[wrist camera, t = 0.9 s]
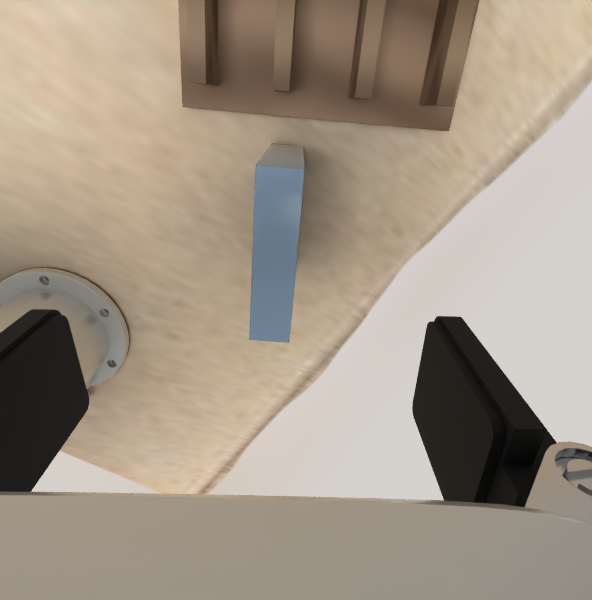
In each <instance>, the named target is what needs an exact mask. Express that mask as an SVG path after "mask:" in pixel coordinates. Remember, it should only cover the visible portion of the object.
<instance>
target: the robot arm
mask: <svg viewBox="0 0 592 600" xmlns="http://www.w3.org/2000/svg"><path fill="white" fill-rule="evenodd" d="M128 347H129V335H128V329H127V326H126V323H125V320H124V318H123V316H122V314H121V312H120V311H119V309H118V307H117V306H116V305H115V304H114V302H113V301H112V300H111V299H110V297H109V296H107V295H106V294H105V293H104V292H103V291H102V290H101V289H100V288H98V287H97V286H95V285H94V284H92V283H91V282H89V281H88V280H86V279H84V278H82V277H79V276H77V275H75V274H73V273H69V272H66V271H63V270H59V269H51V268H32V269H28V270H24V271H20V272H18V273H16V274H14V275H12V276H10V277H8V278H7V279H5V280H4V281H2V282H1V283H0V600H592V447H590V446H587V445H584V444H580V443H574V442H559V443H556V441H555V440H554V439H553V437H552V436H551V435H550V433H549V432H548V431H547V429H546V428H545V427H544V425H543V424H542V423H541V421H540V420H539V419H538V417H537V416H536V415H535V413H534V412H533V411H532V409H531V408H530V407H529V406H528V404H527V403H526V402H525V401H524V399H523V398H522V396H521V395H520V394H519V392H518V391H517V390H516V388H515V387H514V386H513V385H512V383H511V382H510V381H509V379H508V378H507V377H506V375H505V374H504V373H503V371H502V370H501V369H500V367H499V366H498V365H497V364H496V362H495V361H494V360H493V358H492V357H491V356H490V354H489V353H488V352H487V350H486V349H485V348H484V346H483V345H482V344H481V342H480V341H479V340H478V339H477V337H476V336H475V335H474V333H473V332H472V331H471V329H470V328H469V327H468V326H467V324H466V323H465V321H464V320H463V319H462V318H461V317H446V316H438V317H436V319H435V321H434V322H429V323H428V325H427V329H426V334H425V340H424V345H423V350H422V356H421V362H420V367H419V372H418V378H417V383H416V388H415V394H414V399H413V416H414V419H415V422H416V425H417V427H418V430H419V433H420V436H421V438H422V441H423V444H424V446H425V449H426V452H427V454H428V457H429V460H430V463H431V466H432V468H433V471H434V474H435V476H436V479H437V482H438V485H439V487H440V490H441V493H442V496H443V498H444V501H440V500H405V499H380V498H378V499H377V498H338V497H337V498H336V497H295V496H294V497H293V496H253V495H200V494H142V493H74V492H31V491H32V489H33V488H34V486H35V485H36V483H37V482H38V480H39V479H40V477H41V476H42V475H43V473H44V472H45V470H46V469H47V468H48V466H49V464H50V463H51V462H52V460H53V459H54V457H55V456H56V455H57V453H58V452H59V450H60V449H61V447H62V446H63V444H64V443H65V442H66V440H67V439H68V437H69V436H70V434H71V433H72V432H73V430H74V429H75V427H76V426H77V424H78V423H79V421H80V420H81V419H82V417H83V416H84V414H85V413H86V411H87V409H88V406H89V396H88V392H87V389H88V388H89V387H94V386H96V385H99V384H101V383H103V382H105V381H106V380H108V379H109V378H111V377H112V376H113V375H114V374H115V373H116V372H117V371H118V369H119V368H120V366H121V365H122V363H123V362H124V360H125V358H126V355H127V352H128Z"/></svg>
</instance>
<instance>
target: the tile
mask: <svg viewBox="0 0 592 600" xmlns="http://www.w3.org/2000/svg"><path fill="white" fill-rule="evenodd" d="M304 172H305V167H304V152H303V146H292V145H281V144H271V145H270V147H269V148H268V149H267V151H266V152H265V153H264V155H263V156H262V158H261V159H260V160H259V162H258V163H257V165H256V173H255V200H254V228H253V255H252V283H251V310H250V338H249V340H261V341H274V342H288V343H289V341H290V330H291V319H292V308H293V296H294V285H295V274H296V262H297V251H298V240H299V228H300V217H301V206H302V194H303V183H304Z"/></svg>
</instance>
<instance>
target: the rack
mask: <svg viewBox="0 0 592 600" xmlns="http://www.w3.org/2000/svg"><path fill="white" fill-rule="evenodd" d="M478 3H479V0H179V25H180V51H181V77H182V103H183V107H188V108H199V109H210V110H221V111H232V112H243V113H254V114H265V115H276V116H287V117H298V118H309V119H320V120H331V121H342V122H353V123H364V124H375V125H386V126H397V127H408V128H419V129H430V130H441V131H449V128H450V124H451V120H452V115H453V111H454V107H455V102H456V98H457V94H458V89H459V85H460V81H461V76H462V72H463V68H464V64H465V59H466V55H467V51H468V46H469V42H470V38H471V33H472V29H473V25H474V20H475V16H476V12H477V7H478Z"/></svg>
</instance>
